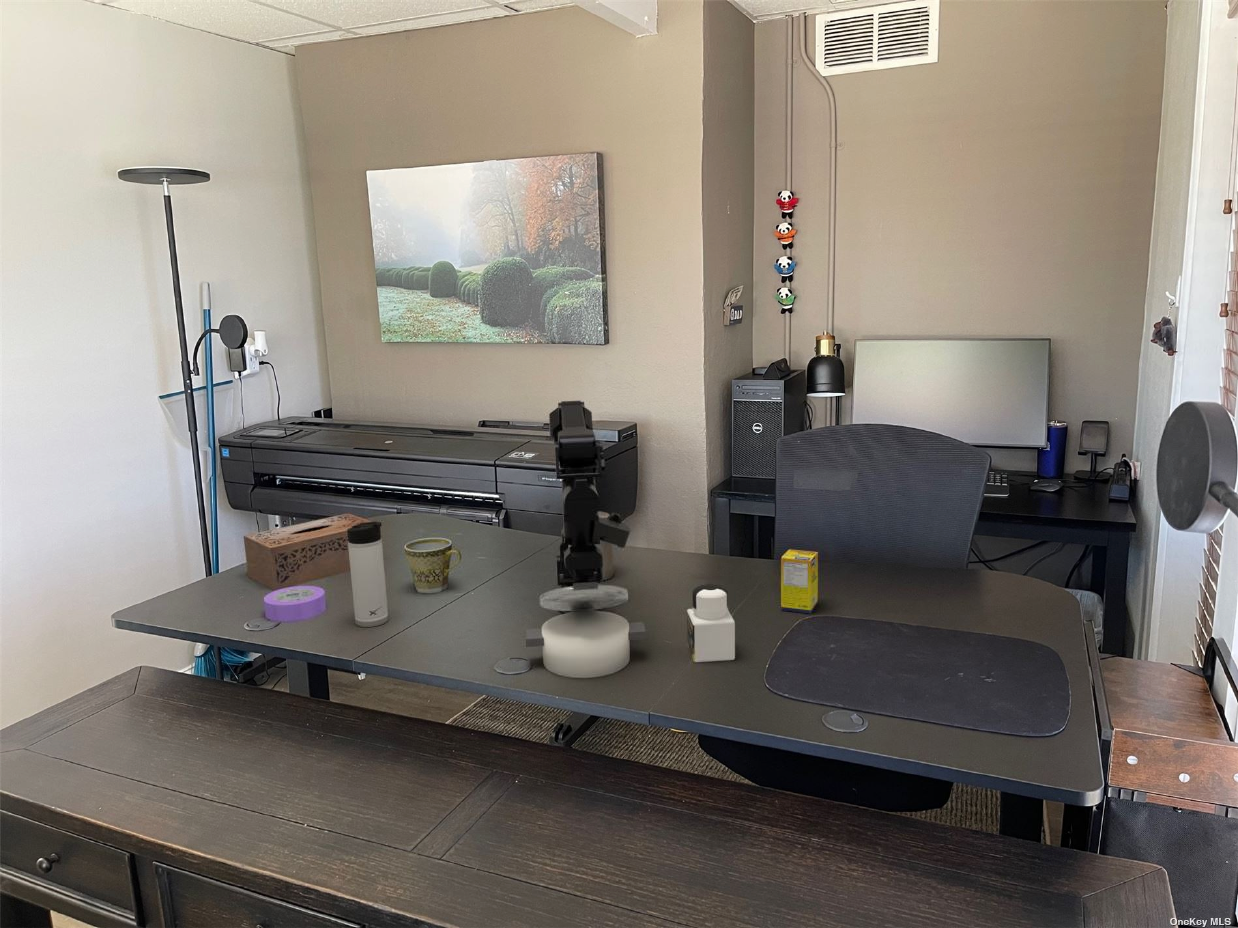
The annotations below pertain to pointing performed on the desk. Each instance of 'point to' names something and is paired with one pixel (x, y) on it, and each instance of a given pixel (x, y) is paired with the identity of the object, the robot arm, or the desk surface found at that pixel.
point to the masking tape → (294, 603)
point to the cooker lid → (583, 597)
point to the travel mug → (367, 574)
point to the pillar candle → (606, 554)
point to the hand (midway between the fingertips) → (582, 592)
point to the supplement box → (799, 581)
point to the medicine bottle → (710, 625)
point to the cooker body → (585, 643)
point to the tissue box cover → (300, 552)
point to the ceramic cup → (430, 563)
